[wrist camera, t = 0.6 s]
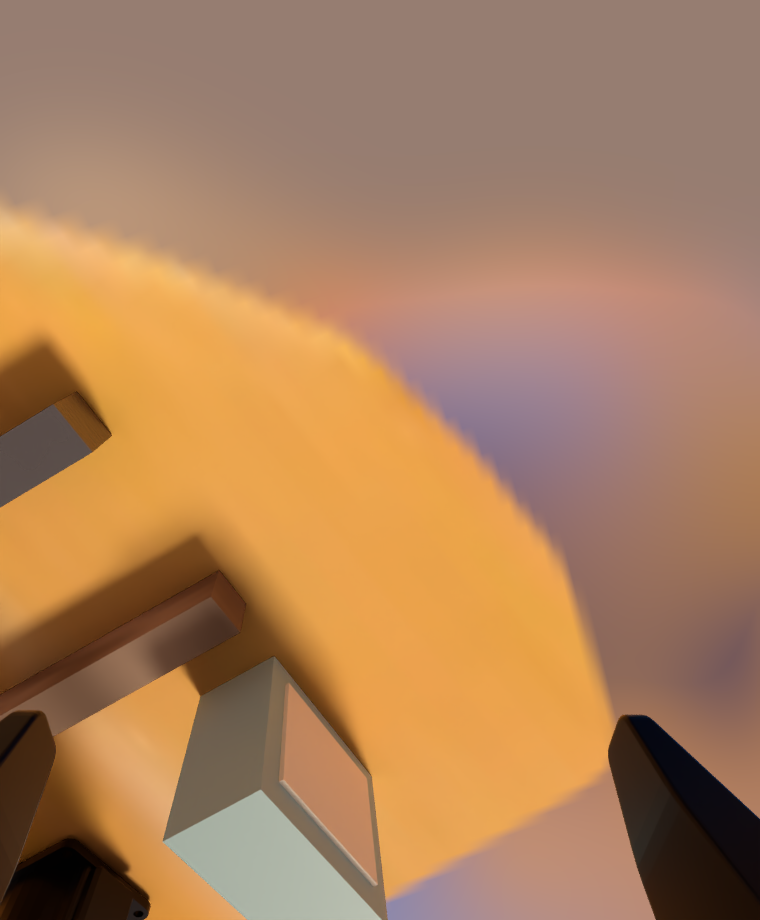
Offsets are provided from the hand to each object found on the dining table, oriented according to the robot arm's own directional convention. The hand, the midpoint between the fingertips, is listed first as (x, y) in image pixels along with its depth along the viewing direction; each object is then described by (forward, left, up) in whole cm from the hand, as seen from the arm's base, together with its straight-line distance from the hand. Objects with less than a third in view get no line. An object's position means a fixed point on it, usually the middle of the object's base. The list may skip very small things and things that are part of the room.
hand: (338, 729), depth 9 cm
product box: (-9, -12, -15) cm, 21 cm away
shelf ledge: (-14, -3, -15) cm, 21 cm away
